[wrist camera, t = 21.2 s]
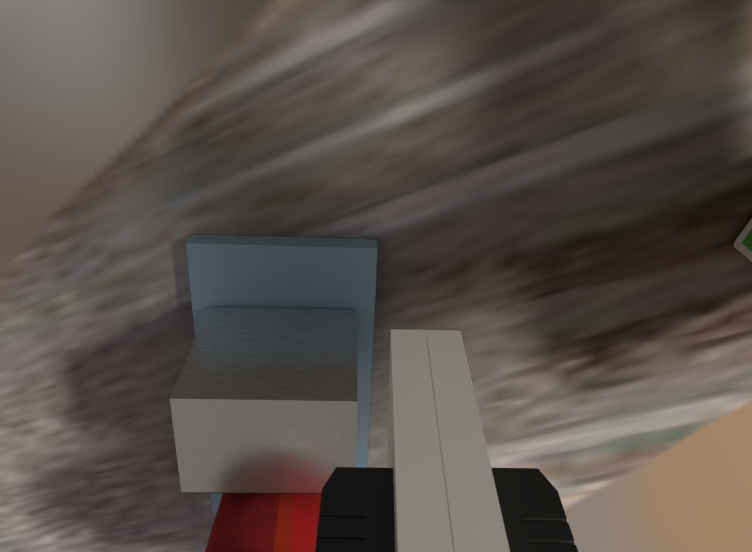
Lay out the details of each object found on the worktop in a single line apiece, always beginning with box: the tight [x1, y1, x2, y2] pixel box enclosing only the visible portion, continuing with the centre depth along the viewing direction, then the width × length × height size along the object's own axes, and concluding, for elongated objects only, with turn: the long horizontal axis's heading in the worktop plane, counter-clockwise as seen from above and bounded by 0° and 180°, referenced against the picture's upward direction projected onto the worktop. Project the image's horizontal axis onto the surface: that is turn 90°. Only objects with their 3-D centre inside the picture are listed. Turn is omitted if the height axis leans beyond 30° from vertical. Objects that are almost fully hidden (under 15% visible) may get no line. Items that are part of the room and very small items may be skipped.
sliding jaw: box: [170, 307, 358, 494], centre depth 38 cm, size 10×7×10 cm
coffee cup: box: [205, 494, 321, 552], centre depth 39 cm, size 8×8×15 cm
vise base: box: [186, 234, 378, 513], centre depth 40 cm, size 12×23×12 cm, turn 178°
